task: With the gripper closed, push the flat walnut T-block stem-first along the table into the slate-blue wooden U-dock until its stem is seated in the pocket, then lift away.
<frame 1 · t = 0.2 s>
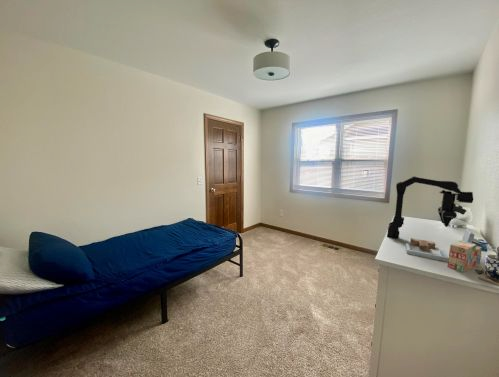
hand: (444, 224, 135), 14 cm above the dresser top, fingers open, 9 cm apart
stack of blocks: (463, 265, 110), on the dresser top
t block: (422, 246, 134), on the dresser top
dock: (424, 252, 124), on the dresser top
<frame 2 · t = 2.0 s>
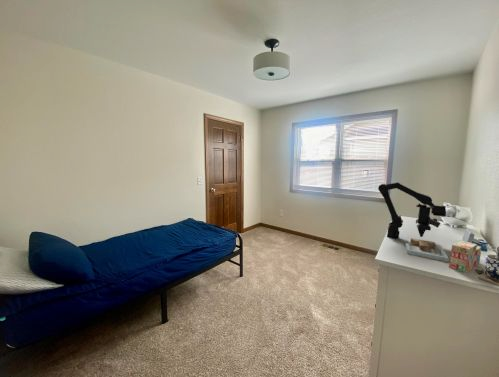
hand: (421, 236, 142), 3 cm above the dresser top, fingers closed
nothing on the dresser top moved.
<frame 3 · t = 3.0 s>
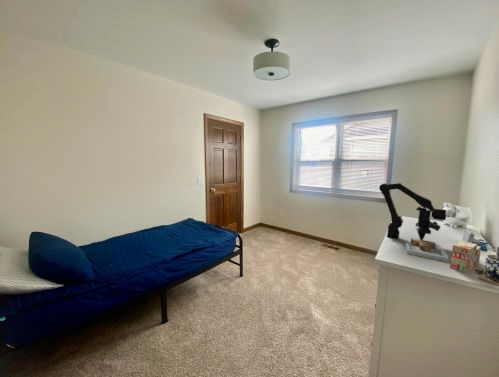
hand: (421, 240, 141), 2 cm above the dresser top, fingers closed
nothing on the dresser top moved.
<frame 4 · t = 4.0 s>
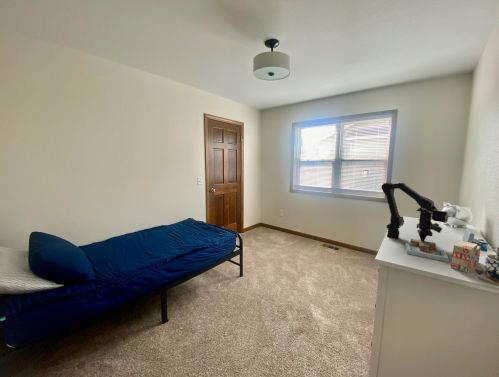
hand: (422, 242, 137), 2 cm above the dresser top, fingers closed
t block: (422, 247, 133), on the dresser top, touching gripper
everything else where it was.
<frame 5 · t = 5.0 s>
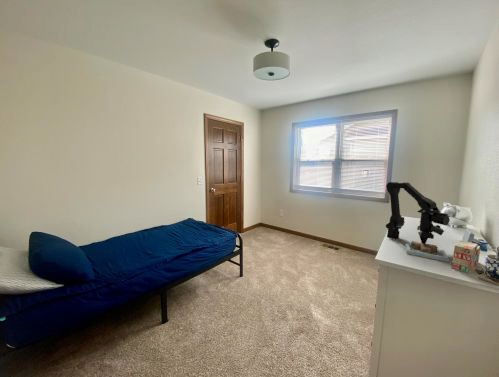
hand: (423, 244, 132), 2 cm above the dresser top, fingers closed
t block: (424, 249, 128), on the dresser top, touching gripper
everything else where it was.
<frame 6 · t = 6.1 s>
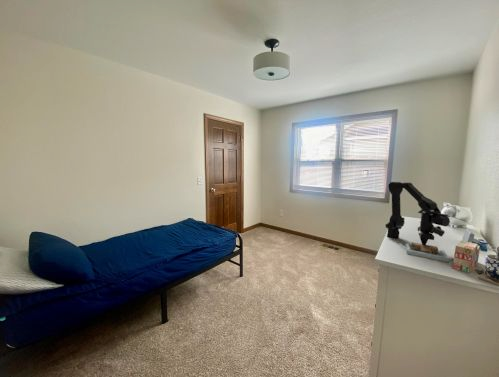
hand: (423, 246, 130), 2 cm above the dresser top, fingers closed
t block: (424, 251, 127), on the dresser top, touching gripper
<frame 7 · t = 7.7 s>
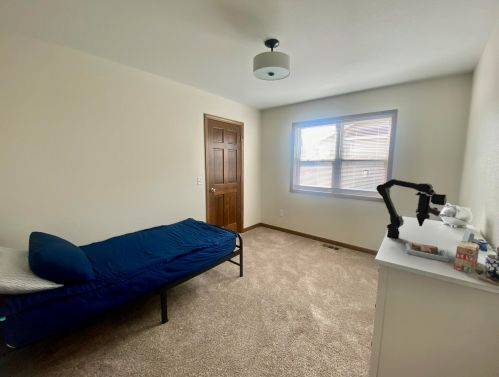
hand: (420, 226, 138), 12 cm above the dresser top, fingers closed
t block: (424, 251, 127), on the dresser top
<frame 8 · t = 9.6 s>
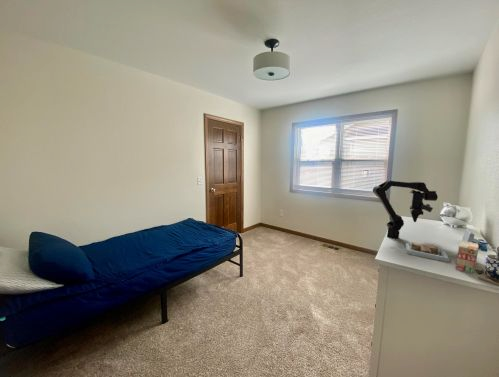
hand: (414, 221, 147), 12 cm above the dresser top, fingers closed
at the end: t block inside the target area (1.6 cm from its centre), on the dresser top; t block tilted 0°; t block moved 9.4 cm from its start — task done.
